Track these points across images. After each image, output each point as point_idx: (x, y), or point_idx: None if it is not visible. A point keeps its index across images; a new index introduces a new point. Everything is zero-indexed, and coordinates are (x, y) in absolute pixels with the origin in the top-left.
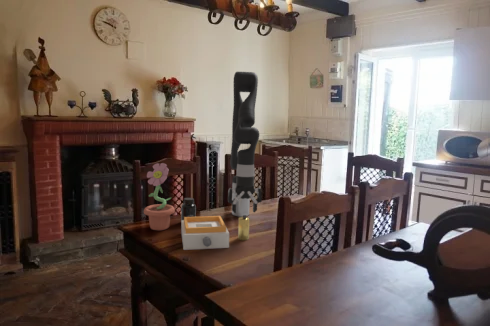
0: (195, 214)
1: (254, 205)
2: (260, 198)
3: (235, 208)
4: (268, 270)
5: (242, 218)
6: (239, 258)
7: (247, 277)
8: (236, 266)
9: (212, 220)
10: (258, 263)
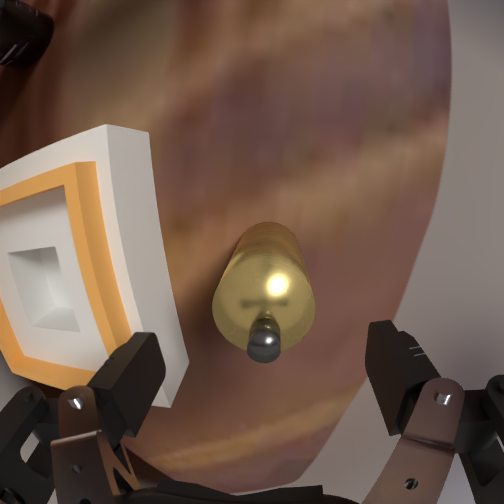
0: (27, 24)
1: (388, 422)
2: (486, 467)
3: (146, 404)
4: (298, 478)
5: (247, 318)
6: (229, 435)
7: (242, 489)
8: (219, 462)
9: (52, 190)
10: (282, 458)
